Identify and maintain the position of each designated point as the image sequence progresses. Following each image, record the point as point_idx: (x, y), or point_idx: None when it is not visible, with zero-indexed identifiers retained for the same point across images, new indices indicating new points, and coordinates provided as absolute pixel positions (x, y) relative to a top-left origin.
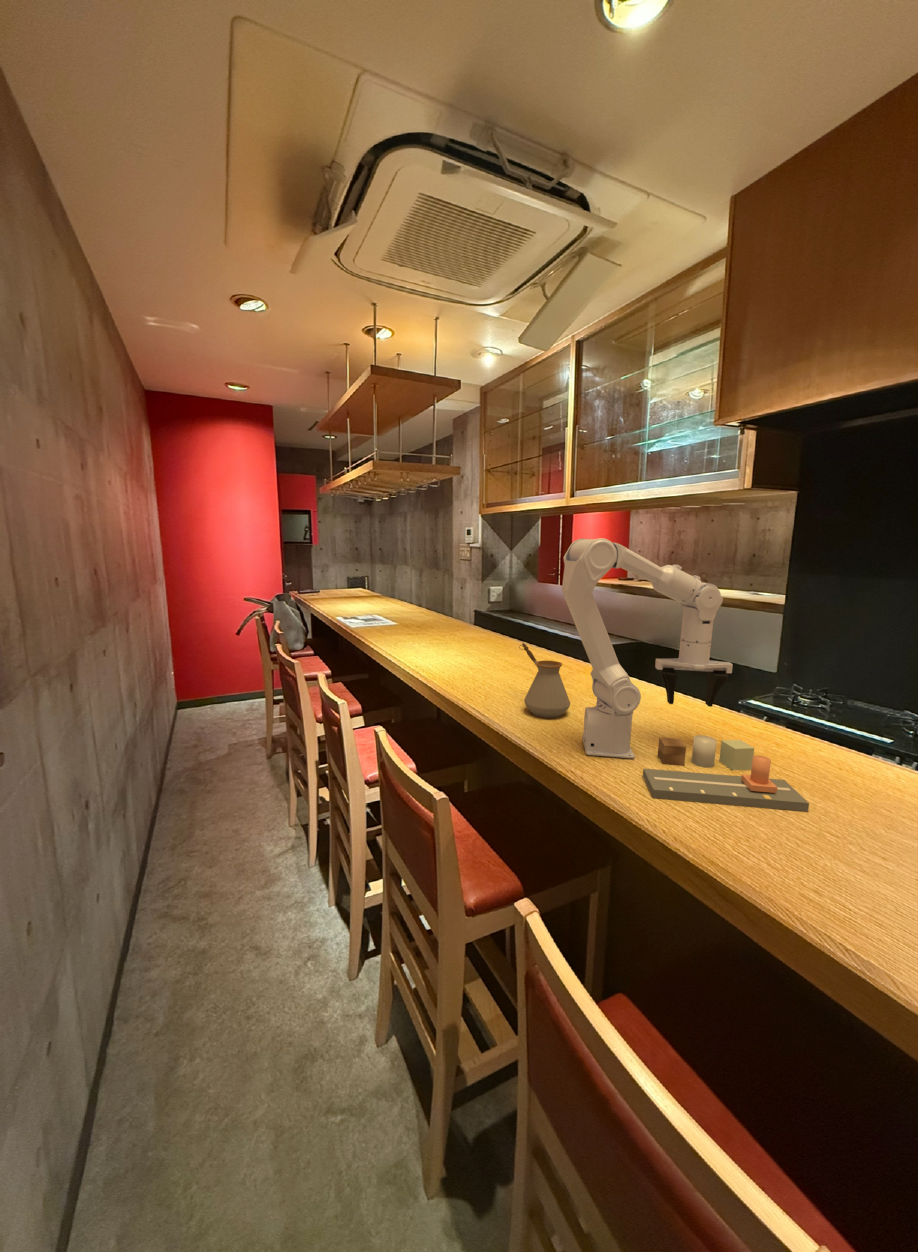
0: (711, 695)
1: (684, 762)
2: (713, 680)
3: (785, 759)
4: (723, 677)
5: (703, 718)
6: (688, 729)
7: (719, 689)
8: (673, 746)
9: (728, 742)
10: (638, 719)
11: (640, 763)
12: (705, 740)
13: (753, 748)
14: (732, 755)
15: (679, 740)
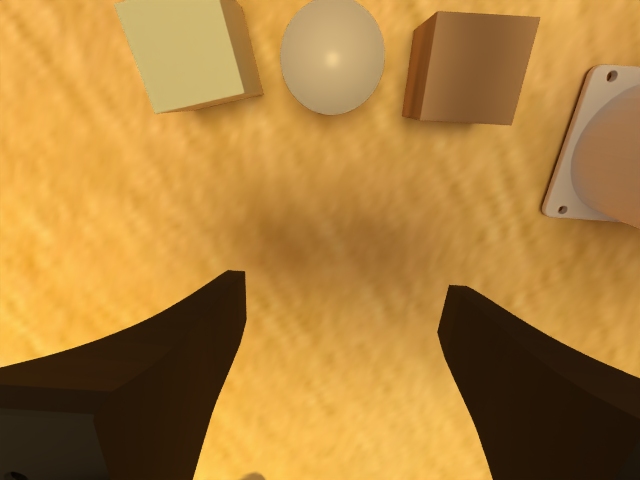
0: (217, 300)
1: (418, 27)
2: (157, 400)
3: (25, 145)
4: (3, 391)
5: None
6: (275, 346)
7: (137, 325)
8: (496, 15)
9: (219, 68)
10: (403, 400)
11: (582, 30)
12: (337, 39)
13: (119, 2)
14: (228, 3)
15: (432, 97)
